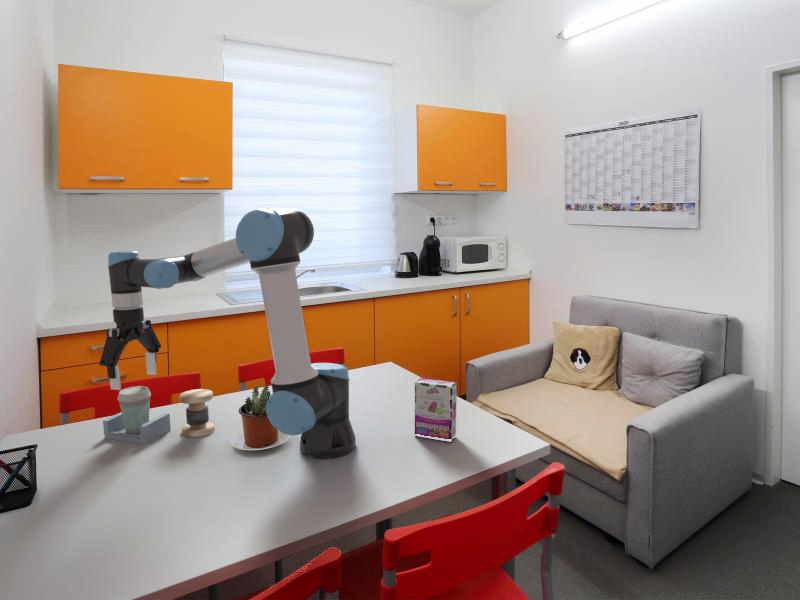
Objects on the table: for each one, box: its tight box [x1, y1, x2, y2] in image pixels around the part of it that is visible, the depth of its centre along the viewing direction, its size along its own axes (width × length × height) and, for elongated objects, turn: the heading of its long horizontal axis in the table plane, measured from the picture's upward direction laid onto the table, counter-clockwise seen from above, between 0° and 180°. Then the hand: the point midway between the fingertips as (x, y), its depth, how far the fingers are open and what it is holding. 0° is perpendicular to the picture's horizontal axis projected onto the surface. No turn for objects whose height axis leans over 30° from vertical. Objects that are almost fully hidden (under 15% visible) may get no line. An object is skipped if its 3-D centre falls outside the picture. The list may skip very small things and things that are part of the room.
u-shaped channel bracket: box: [102, 411, 171, 445], centre depth 155 cm, size 10×14×5 cm
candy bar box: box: [414, 377, 458, 439], centre depth 154 cm, size 11×5×16 cm, turn 68°
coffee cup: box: [117, 385, 152, 435], centre depth 154 cm, size 8×8×12 cm
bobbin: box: [178, 388, 216, 439], centre depth 157 cm, size 9×9×11 cm
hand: (134, 381), depth 153 cm, fingers open, 13 cm apart
